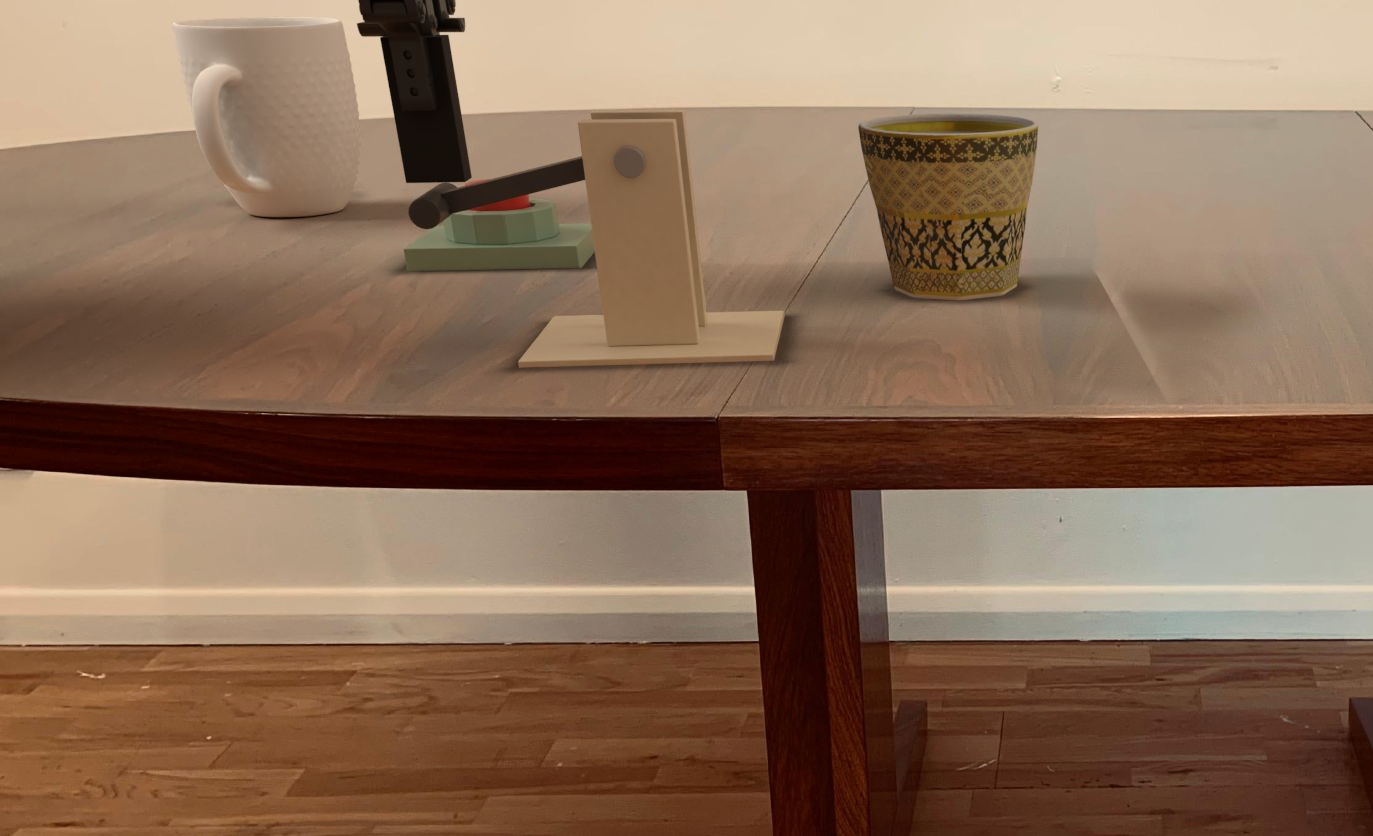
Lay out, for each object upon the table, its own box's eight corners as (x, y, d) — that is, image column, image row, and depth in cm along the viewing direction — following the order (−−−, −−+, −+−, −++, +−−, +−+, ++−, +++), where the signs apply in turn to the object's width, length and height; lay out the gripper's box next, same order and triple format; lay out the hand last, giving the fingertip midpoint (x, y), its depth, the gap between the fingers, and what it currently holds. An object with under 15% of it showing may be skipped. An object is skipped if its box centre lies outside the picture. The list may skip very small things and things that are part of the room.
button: (463, 217, 105) (458, 187, 104) (475, 207, 108) (471, 179, 108) (524, 216, 106) (520, 187, 105) (535, 207, 109) (531, 178, 108)
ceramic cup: (1011, 326, 96) (1005, 137, 92) (842, 315, 98) (829, 130, 94) (1077, 281, 107) (1074, 111, 103) (925, 272, 109) (916, 105, 105)
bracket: (521, 386, 83) (481, 129, 78) (556, 338, 92) (523, 105, 87) (775, 378, 85) (752, 126, 80) (786, 332, 94) (766, 103, 89)
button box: (409, 286, 104) (397, 217, 103) (440, 260, 111) (429, 196, 110) (581, 282, 106) (572, 215, 104) (601, 257, 113) (592, 194, 111)
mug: (306, 234, 120) (265, 31, 114) (151, 232, 120) (102, 29, 114) (403, 200, 133) (370, 17, 127) (262, 198, 133) (224, 15, 128)
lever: (419, 242, 82) (398, 192, 81) (443, 224, 87) (424, 176, 86) (668, 179, 83) (650, 128, 82) (679, 164, 87) (662, 116, 86)
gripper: (394, -418, 68) (492, 200, 78) (466, -372, 80) (544, 160, 90) (191, -424, 67) (317, 203, 77) (294, -376, 79) (392, 163, 89)
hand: (439, 179), depth 84 cm, fingers closed
